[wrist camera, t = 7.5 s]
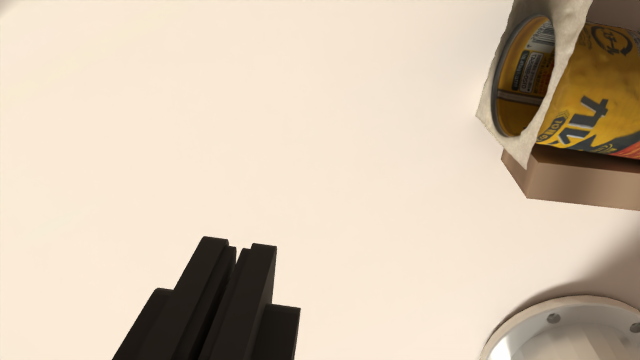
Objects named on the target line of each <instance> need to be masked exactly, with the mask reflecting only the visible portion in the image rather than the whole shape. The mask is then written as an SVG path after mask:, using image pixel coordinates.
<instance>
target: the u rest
mask: <svg viewBox="0 0 640 360" xmlns="http://www.w3.org/2000/svg"><path fill="white" fill-rule="evenodd" d="M501 160H502V162H503V163H504V165H505V166H506V168H507V169H508V171H509V172H510V174H511V175H512V177H513V178H514V180H515V181H516V183H517V184H518V186H519V187H520V189H521V190H522V192H523V193H524V195H525V196H526V198H529V199H538V200H547V201H556V202H565V203H574V204H583V205H592V206H601V207H610V208H619V209H628V210H637V211H640V160H637V159H631V158H625V157H618V156H613V155H607V154H604V155H601V154H597V153H592V152H586V151H583V150H581V151H580V150H574V149H567V148H559V147H555V146H551V145H545V144H537V143H535V144H534V145H533V147H532V150H531V153H530V155H529V159H528V162H527V170H525V169H524V168H523V167H522V166H521V165H520V164H519V162H518V161H517V160H516V159H514V158H513V156H512V155H511V154H509V153H508V152H507V151H506V150H505V149H504V150H503V154H502V157H501Z"/></svg>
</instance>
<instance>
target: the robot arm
mask: <svg viewBox="0 0 640 360" xmlns="http://www.w3.org/2000/svg"><path fill="white" fill-rule="evenodd" d="M276 255H277V246H271V245H264V244H257V243H253V244H252V246H251V249H247V248H243V249H242V251H241V253H240V256H239V258H238V261H237V263H236V247H233V246H229V242H228V239H221V238H214V237H207V236H203V238H202V239H201V241H200V243H199V245H198V246H197V248H196V250H195V252H194V254H193V255H192V257H191V259H190V261H189V263H188V264H187V266H186V268H185V270H184V272H183V273H182V275H181V277H180V279H179V281H178V282H177V284H176V286H175V288H174V290H171V289H164V288H157V289H155V290H154V292H153V293H152V295H151V296H150V298H149V300H148V301H147V303H146V304H145V306H144V308H143V309H142V311H141V313H140V314H139V316H138V318H137V319H136V321H135V323H134V324H133V326H132V327H131V329H130V331H129V332H128V334H127V336H126V337H125V339H124V341H123V342H122V344H121V345H120V347H119V349H118V350H117V352H116V354H115V355H114V357H113V359H112V360H294V356H295V349H296V342H297V334H298V327H299V319H300V310H301V308H297V307H290V306H283V305H276V304H272V295H273V285H274V275H275V265H276ZM480 360H640V311H638V310H637V309H635V308H633V307H631V306H629V305H627V304H625V303H623V302H621V301H617V300H614V299H610V298H607V297H599V296H590V295H582V296H567V297H562V298H556V299H551V300H548V301H545V302H542V303H539V304H536V305H533V306H531V307H529V308H527V309H525V310H523V311H522V312H520V313H518V314H516V315H515V316H513V317H512V318H511V319H509V320H508V321H506V322H505V323H504V324H503V325H502V326H501V327H500V328H499V329H498V330H497V331H496V332H495V333H494V334H493V335H492V336H491V338H490V339H489V341H488V342H487V344H486V345H485V347H484V349H483V352H482V354H481V357H480Z"/></svg>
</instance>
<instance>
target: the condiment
mask: <svg viewBox="0 0 640 360" xmlns="http://www.w3.org/2000/svg"><path fill="white" fill-rule="evenodd" d="M592 2H593V0H514V2H513V6H512V11H511V13H510V15H509V18H508V24H507V28H506V30H505V32H504V34H503V35H502V37H501V41H500V44H499V46H498V48H497V50H496V52H495V58H494V59H493V61H492V64H491V67H490V70H489V74H488V79H487V80H486V83H485V85H484V89H483V93H482V96H481V99H480V103H479V106H478V110H477V112H476V115H475V116H476V117H477V118H478V119H479V120H480V121H481V122H482V123H483V124H484V125H485V127H486V128H487V130H488V131H489V132H490V133H491V134H492V136H494V138H495V139H496V140H497V141H498V142H499V143H500V144H501V145H502V146H503V147H504V149H505V150H506V151H507V152H508V153H509V154H511V155H512V156H513V158H514V159H516V160H517V161H518V162H519V164H520V165H521V166H522V167H523V168H524V169H525V170H527V162H528V159H529V155H530V153H531V150H532V147H533V145H534V144H535V143H537V144H545V145H551V146H555V147H559V148H567V149H574V150H580V151H581V150H583V151H586V152H592V153H597V154H601V155H604V154H607V155H613V156H618V157H625V158H631V159H637V160H640V32H636V31H631V30H627V29H622V28H620V27H612V26H607V25H601V24H595V23H593V22H587V21H585V20H586V15H587V12H588V9H589V7H590V5H591V4H592Z"/></svg>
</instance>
